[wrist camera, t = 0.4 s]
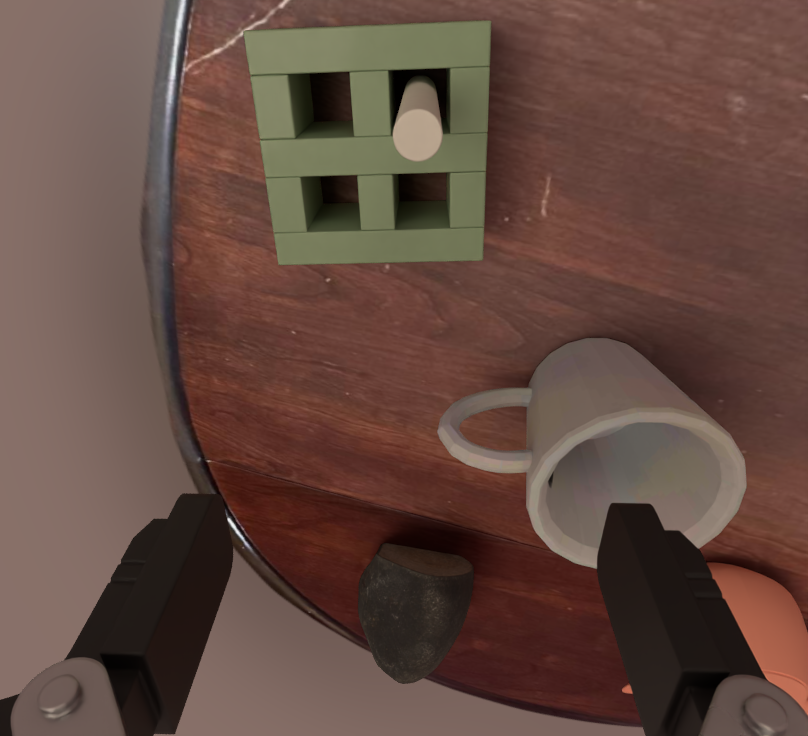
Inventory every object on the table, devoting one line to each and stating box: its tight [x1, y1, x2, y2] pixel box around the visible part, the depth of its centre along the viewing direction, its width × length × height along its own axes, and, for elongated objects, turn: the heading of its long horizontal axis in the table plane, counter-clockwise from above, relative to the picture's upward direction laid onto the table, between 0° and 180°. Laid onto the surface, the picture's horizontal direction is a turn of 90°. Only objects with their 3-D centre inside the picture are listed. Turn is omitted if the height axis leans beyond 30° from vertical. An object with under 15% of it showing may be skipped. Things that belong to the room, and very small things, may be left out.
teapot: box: [622, 562, 808, 715], centre depth 43 cm, size 12×18×10 cm
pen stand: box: [243, 20, 491, 265], centre depth 28 cm, size 10×10×5 cm
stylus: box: [393, 75, 443, 162], centre depth 23 cm, size 2×2×13 cm
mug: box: [437, 338, 747, 569], centre depth 33 cm, size 10×15×10 cm
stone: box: [358, 543, 474, 684], centre depth 41 cm, size 8×8×10 cm
